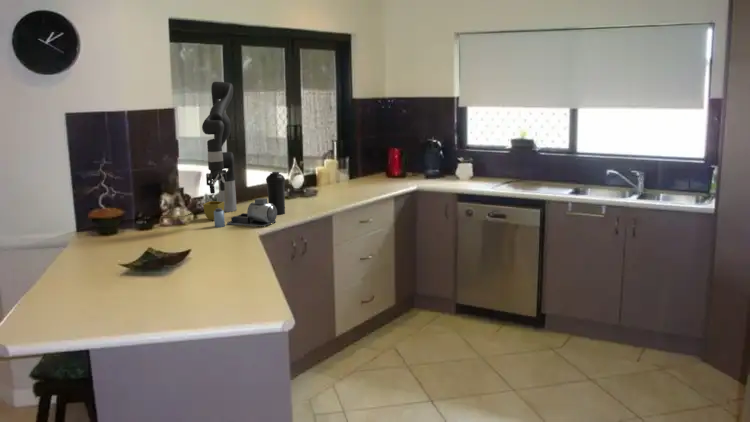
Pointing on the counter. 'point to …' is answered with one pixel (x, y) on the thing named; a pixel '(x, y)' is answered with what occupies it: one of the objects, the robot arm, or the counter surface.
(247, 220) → the electric motor
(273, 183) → the water bottle
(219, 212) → the blue capped cylinder
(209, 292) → the counter surface
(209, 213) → the flower pot
